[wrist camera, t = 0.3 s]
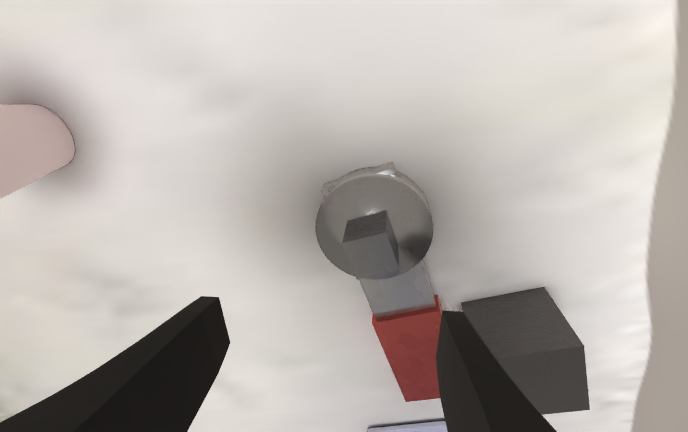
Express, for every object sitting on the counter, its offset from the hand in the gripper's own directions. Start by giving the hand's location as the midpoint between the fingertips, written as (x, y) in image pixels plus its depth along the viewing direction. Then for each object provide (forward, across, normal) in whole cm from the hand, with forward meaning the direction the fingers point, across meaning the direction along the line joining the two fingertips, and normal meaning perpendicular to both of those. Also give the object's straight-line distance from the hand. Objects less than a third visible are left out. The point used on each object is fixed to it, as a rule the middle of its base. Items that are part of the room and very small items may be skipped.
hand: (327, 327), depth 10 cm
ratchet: (+10, -3, +6) cm, 12 cm away
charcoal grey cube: (+10, -10, +8) cm, 16 cm away
